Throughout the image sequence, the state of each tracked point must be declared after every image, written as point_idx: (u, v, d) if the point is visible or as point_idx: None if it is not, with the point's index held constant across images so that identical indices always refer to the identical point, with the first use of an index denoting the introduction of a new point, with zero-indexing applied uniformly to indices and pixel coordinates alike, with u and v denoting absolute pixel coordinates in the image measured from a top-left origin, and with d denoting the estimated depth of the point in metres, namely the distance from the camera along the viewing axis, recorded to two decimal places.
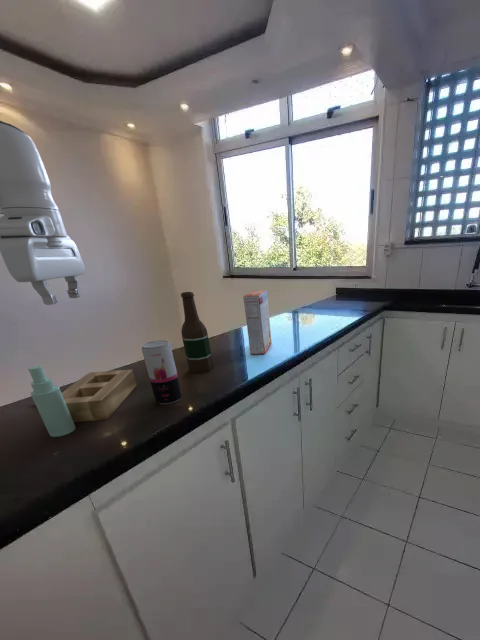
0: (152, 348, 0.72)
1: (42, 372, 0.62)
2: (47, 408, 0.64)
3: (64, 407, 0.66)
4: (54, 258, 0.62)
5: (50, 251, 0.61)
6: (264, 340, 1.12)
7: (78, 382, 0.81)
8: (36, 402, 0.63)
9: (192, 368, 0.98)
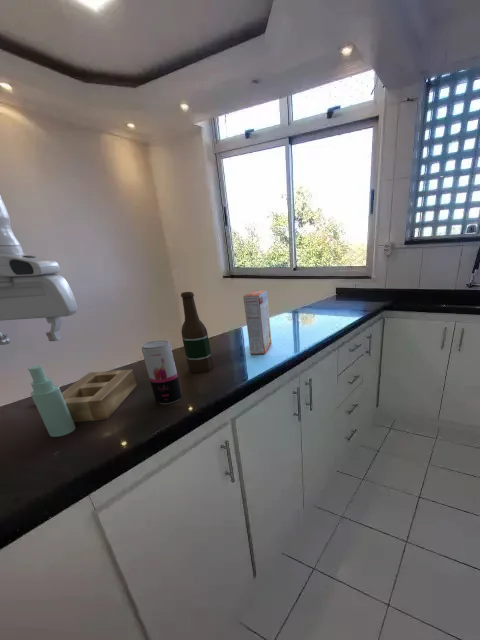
0: (152, 348, 0.72)
1: (42, 372, 0.62)
2: (47, 408, 0.64)
3: (64, 407, 0.66)
4: None
5: None
6: (264, 340, 1.12)
7: (78, 382, 0.81)
8: (36, 402, 0.63)
9: (192, 368, 0.98)
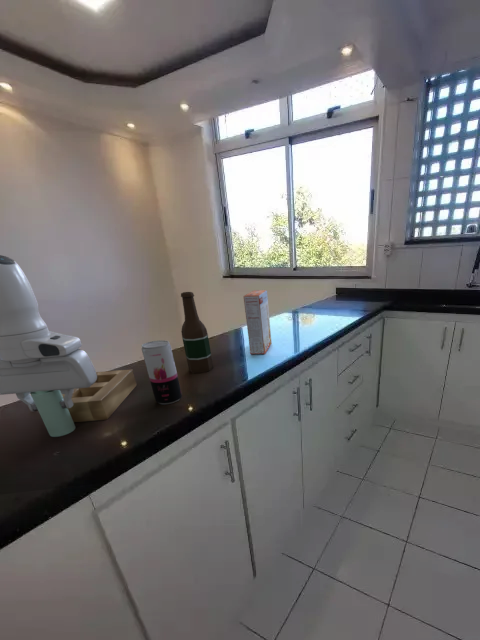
0: (152, 348, 0.72)
1: None
2: (47, 408, 0.63)
3: None
4: None
5: None
6: (264, 340, 1.12)
7: None
8: (36, 402, 0.63)
9: (192, 368, 0.98)
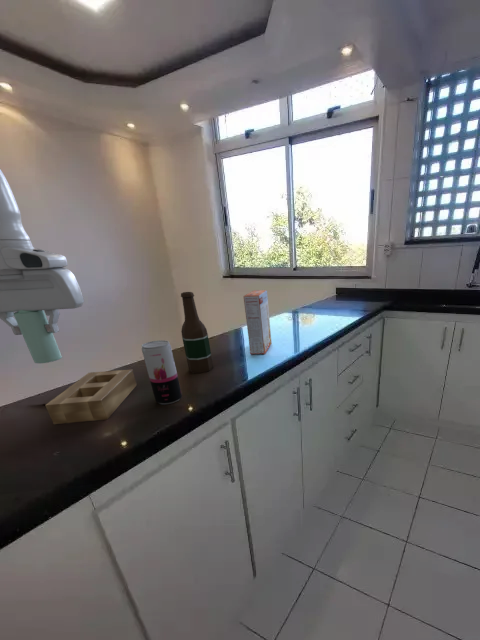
0: (152, 348, 0.72)
1: None
2: (30, 330, 0.60)
3: None
4: None
5: None
6: (264, 340, 1.12)
7: (78, 382, 0.81)
8: (19, 322, 0.60)
9: (192, 368, 0.98)
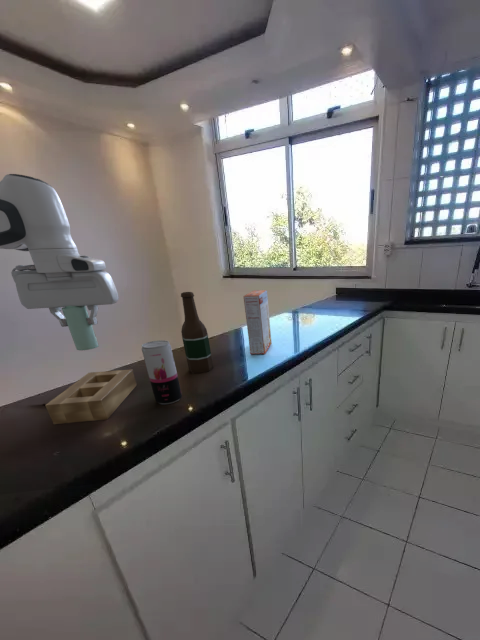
0: (152, 348, 0.72)
1: None
2: (76, 322, 0.73)
3: None
4: None
5: None
6: (264, 340, 1.12)
7: (78, 382, 0.81)
8: (66, 316, 0.72)
9: (192, 368, 0.98)
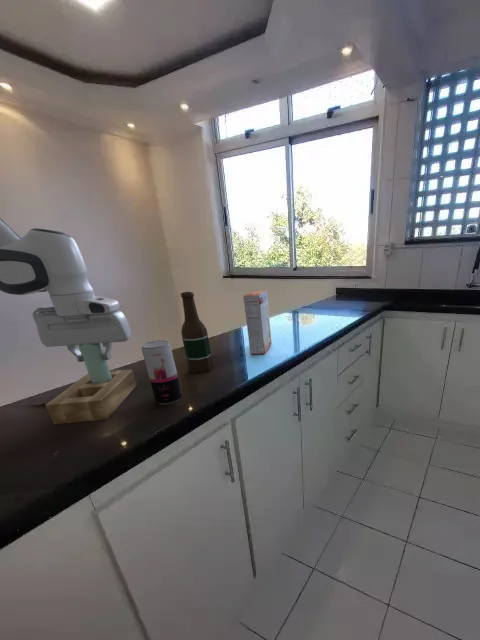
0: (152, 348, 0.72)
1: None
2: (91, 358, 0.78)
3: None
4: None
5: None
6: (264, 340, 1.12)
7: (78, 382, 0.81)
8: (83, 353, 0.77)
9: (192, 368, 0.98)
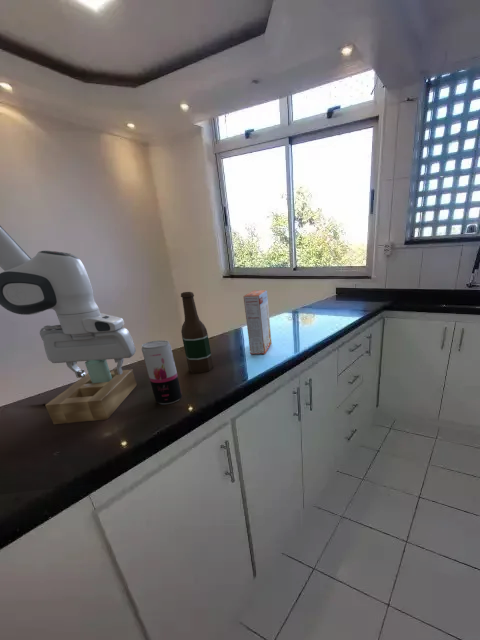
0: (152, 348, 0.72)
1: None
2: (97, 375, 0.80)
3: (109, 375, 0.83)
4: None
5: None
6: (264, 340, 1.12)
7: (78, 382, 0.81)
8: (89, 370, 0.79)
9: (192, 368, 0.98)
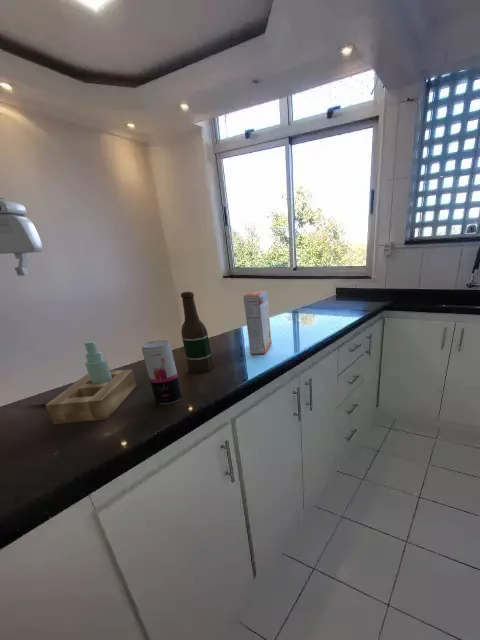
0: (152, 348, 0.72)
1: (94, 346, 0.79)
2: (97, 375, 0.80)
3: (109, 375, 0.83)
4: None
5: None
6: (264, 340, 1.12)
7: (78, 382, 0.81)
8: (89, 370, 0.79)
9: (192, 368, 0.98)
